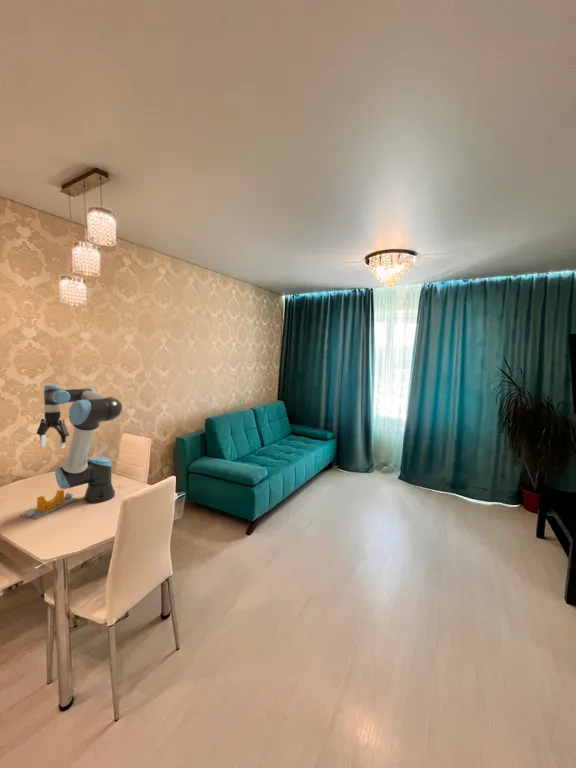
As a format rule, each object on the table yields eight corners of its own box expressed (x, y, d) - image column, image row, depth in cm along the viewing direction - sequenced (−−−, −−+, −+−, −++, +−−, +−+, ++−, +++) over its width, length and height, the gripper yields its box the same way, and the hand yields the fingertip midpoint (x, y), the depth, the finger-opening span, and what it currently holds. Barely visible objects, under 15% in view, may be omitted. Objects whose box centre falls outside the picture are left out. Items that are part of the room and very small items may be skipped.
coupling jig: (77, 499, 181) (77, 492, 181) (36, 519, 158) (36, 511, 157) (63, 497, 183) (63, 490, 183) (20, 516, 160) (20, 509, 159)
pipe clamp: (42, 511, 165) (42, 498, 164) (37, 509, 166) (37, 497, 166) (66, 502, 176) (66, 490, 176) (60, 500, 177) (60, 489, 177)
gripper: (76, 411, 189) (76, 447, 190) (40, 409, 194) (41, 443, 195) (64, 413, 181) (65, 450, 183) (28, 410, 186) (29, 446, 188)
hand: (52, 447), depth 189 cm, fingers open, 13 cm apart
